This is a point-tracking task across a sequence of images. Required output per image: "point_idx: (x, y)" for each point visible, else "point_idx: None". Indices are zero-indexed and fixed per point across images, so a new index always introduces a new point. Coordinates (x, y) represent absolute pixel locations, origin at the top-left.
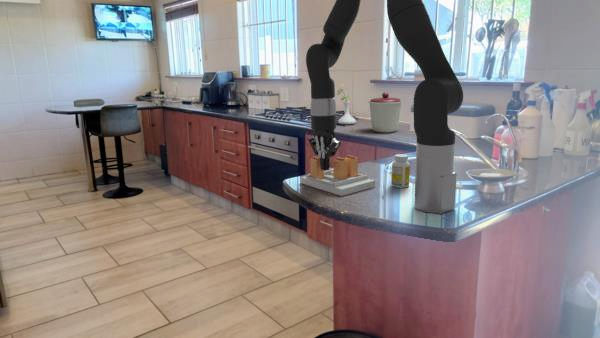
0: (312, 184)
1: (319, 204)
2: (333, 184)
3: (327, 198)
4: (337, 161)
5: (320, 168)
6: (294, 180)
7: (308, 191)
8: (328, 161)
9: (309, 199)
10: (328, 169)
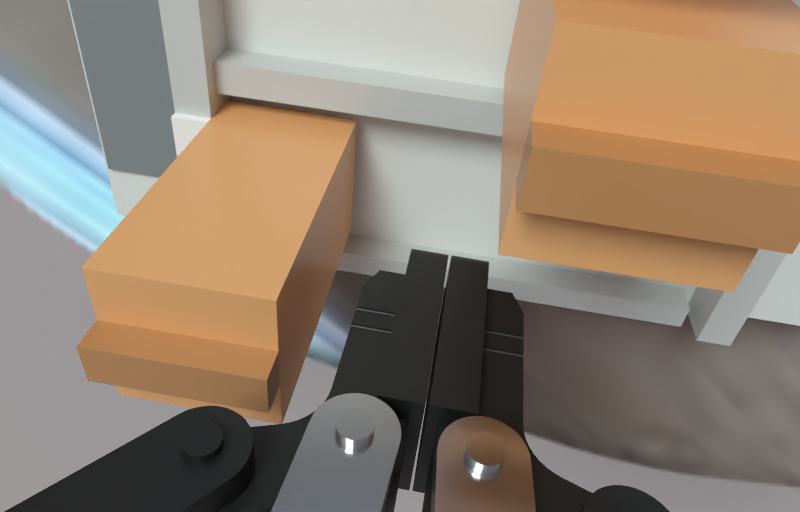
0: None
1: (717, 477)
2: (701, 327)
3: (702, 376)
4: (636, 266)
5: (320, 254)
6: (14, 143)
7: None
8: (519, 407)
9: (580, 440)
10: (487, 264)
